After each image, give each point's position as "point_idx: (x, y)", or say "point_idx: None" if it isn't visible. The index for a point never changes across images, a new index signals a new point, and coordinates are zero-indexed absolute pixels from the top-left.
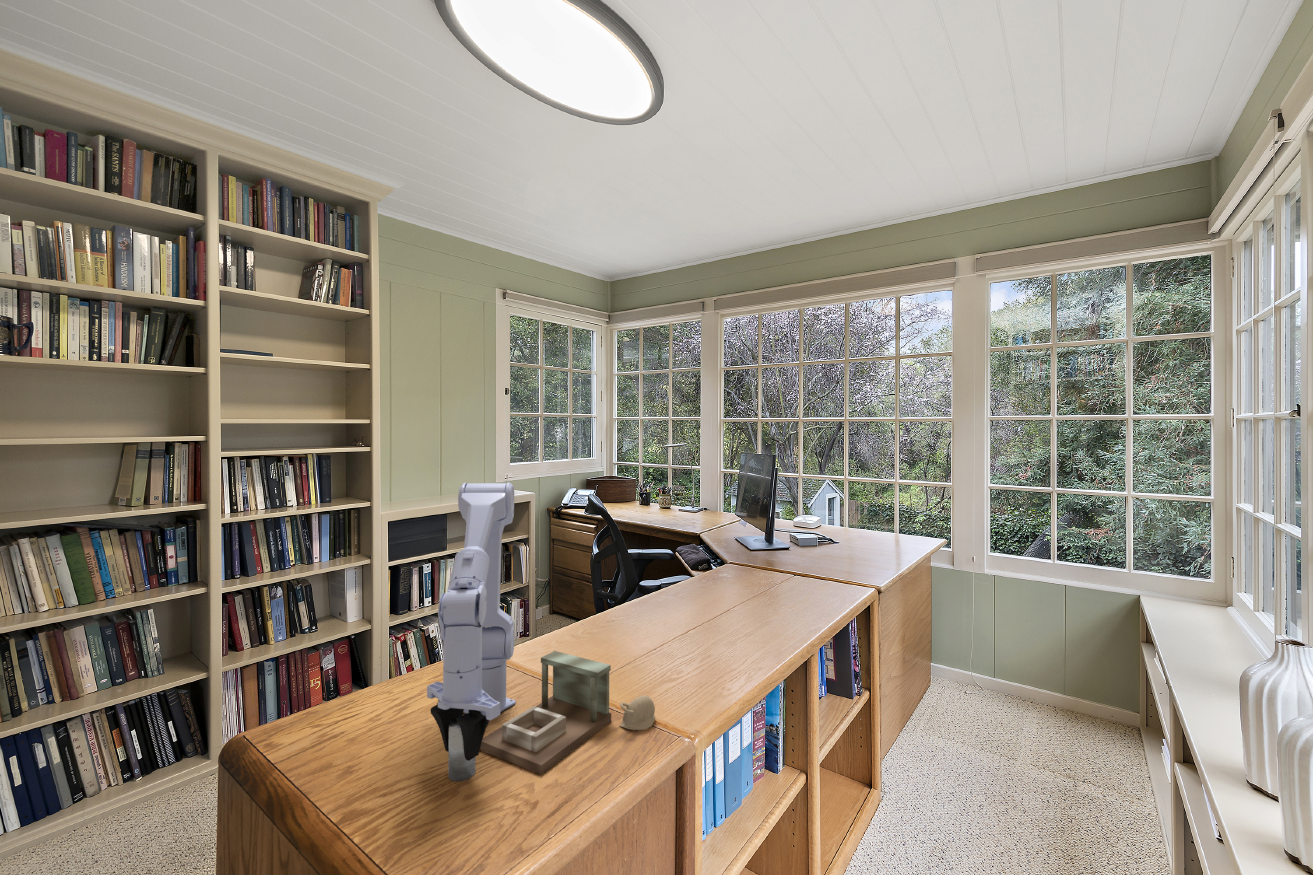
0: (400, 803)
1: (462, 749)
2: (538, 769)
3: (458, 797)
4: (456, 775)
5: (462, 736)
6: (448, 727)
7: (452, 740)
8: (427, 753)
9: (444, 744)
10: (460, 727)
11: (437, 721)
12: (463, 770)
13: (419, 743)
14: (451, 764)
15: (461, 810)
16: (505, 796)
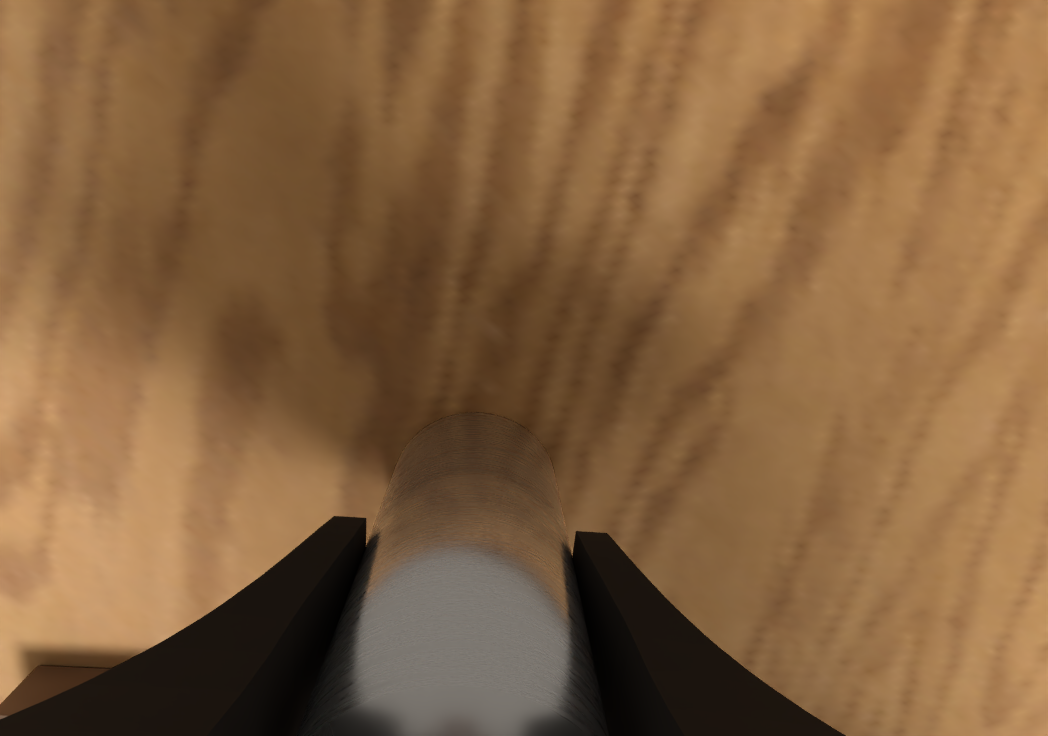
0: (600, 84)
1: (375, 557)
2: (42, 685)
3: (297, 305)
4: (440, 432)
5: (343, 650)
6: (627, 700)
7: (455, 574)
8: (830, 540)
9: (620, 556)
10: (205, 725)
11: (771, 710)
12: (399, 470)
13: (951, 588)
14: (479, 457)
15: (167, 214)
16: (46, 437)
